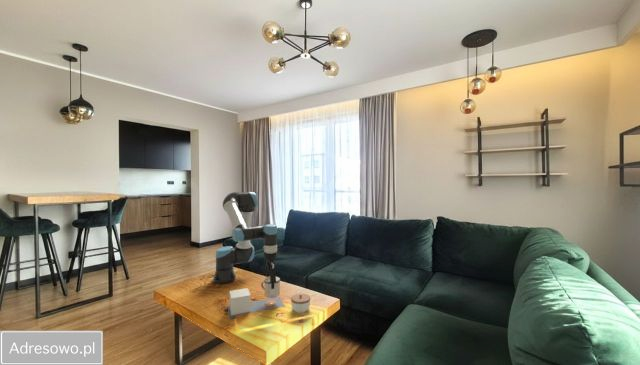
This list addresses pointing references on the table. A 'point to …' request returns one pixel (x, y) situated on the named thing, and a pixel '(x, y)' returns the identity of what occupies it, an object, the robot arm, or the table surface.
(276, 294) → the teacup with lid
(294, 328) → the table surface
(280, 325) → the table surface
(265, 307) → the board
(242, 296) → the block
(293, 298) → the lidded jar
